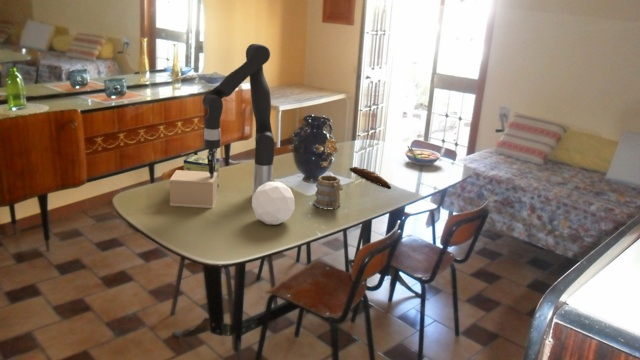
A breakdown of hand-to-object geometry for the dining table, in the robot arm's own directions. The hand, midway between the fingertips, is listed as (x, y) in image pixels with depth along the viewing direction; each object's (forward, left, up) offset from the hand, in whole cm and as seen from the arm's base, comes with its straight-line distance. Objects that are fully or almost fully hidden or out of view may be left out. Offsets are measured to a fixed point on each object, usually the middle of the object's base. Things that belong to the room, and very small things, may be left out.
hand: (212, 172), depth 266 cm
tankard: (-57, -2, -16) cm, 60 cm away
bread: (-82, -51, -16) cm, 99 cm away
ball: (-30, +20, -16) cm, 40 cm away
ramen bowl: (-119, -86, -16) cm, 148 cm away
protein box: (+9, -19, -16) cm, 26 cm away
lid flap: (+9, 0, -3) cm, 9 cm away
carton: (+9, 0, -15) cm, 18 cm away
